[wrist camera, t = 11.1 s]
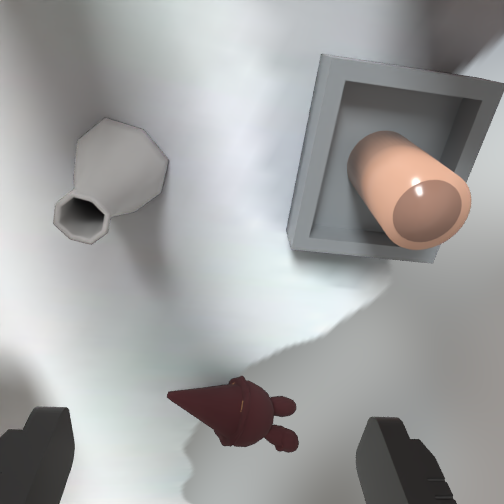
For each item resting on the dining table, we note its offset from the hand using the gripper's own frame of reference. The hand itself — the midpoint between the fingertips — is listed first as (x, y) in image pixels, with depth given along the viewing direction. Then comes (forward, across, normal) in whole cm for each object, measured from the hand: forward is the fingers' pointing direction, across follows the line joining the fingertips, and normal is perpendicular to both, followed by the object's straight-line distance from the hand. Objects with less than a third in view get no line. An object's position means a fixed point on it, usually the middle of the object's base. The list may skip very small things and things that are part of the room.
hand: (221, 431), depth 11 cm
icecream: (+24, -3, +26) cm, 35 cm away
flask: (+25, +8, +2) cm, 26 cm away
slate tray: (+24, -12, -1) cm, 27 cm away
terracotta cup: (+23, -12, -1) cm, 26 cm away
